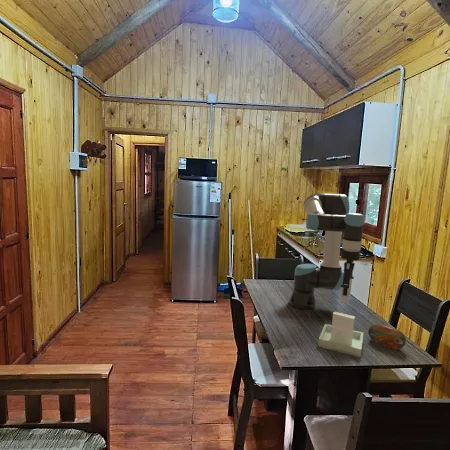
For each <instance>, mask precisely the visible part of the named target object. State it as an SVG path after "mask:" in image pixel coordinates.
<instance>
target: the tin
mask: <svg viewBox="0 0 450 450" xmlns="http://www.w3.org/2000/svg"><path fill="white" fill-rule="evenodd" d="M367 334H368V336H369V338H370V340H371V341H372V342H374V343H375V344H378V345H380V346H384V347H387V348H389V349H392V350H395V351H399V350H401V349H403V348H404V346H405V345H406V344H407V343H406V342H407V340H406V337H405V334H404V333H403V332H402V331H400V330H399V329H395V328H392V327H389V326H387V325H383V324H380V323H375V324H372V325H371V326H370V327H369V328H368V333H367Z"/></svg>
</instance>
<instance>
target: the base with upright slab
mask: <svg viewBox="0 0 450 450" xmlns="http://www.w3.org/2000/svg"><path fill="white" fill-rule="evenodd" d="M355 320H356V316H354V315H350V314H346V313H342V312H338V311H334V312H332V320H331V321H332V322H331V325H332V329H331V341H334V342H338V343H342V344H346V345H351V344H352V338H353V330H354V328H355Z"/></svg>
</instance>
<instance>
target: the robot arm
mask: <svg viewBox="0 0 450 450" xmlns="http://www.w3.org/2000/svg"><path fill="white" fill-rule="evenodd" d="M303 209H304V211H305V212H306V213H307V215H306V217H305V218H306V221H305V227H306V229H307V230H310V231H311V230H312V231H320V232H321V231H324V232H325V233H324V234H325V235H324V247H323V260H322V262H321V264H320V265H319V267H318V266H317V265H316V264H314V263H300V264H298V265H297V266H296V267H295V269H294V277H293V278H294V280H293V288H292V289H293V290H292V293H291V294H290V297H289V301H288V303H289V305H291V306H292V307H295V308H297V309H301V310H312V309H315V308H316V307H317V299H316V295H315V289H320V290H321V289H322V290H329V291H339V290H341V296H340V303H343V304H348V303H349V297H350V296H349V295H350V294H351V291H352V283H353V282H352V281H353V280H354V278H355V277H354V276H353V274H354V273H353V272H354V267H355V264H356V263H355V262H354V261H360V258H361V249H362V242H363V240H362V239H363V231H364V224H365V216H364V214H362V213H355V212H350V200H349V198H348V196H347V195H346V194H341V193H327V192H326V193H324V192H323V193H322V192H318V193H317V192H316V193H313V194H311V195H309V196H307V197H306V198H305V200H304V201H303ZM341 244H342V245H341ZM341 248H342V249H341ZM341 258H342V259H343V260H346V261H344V263H343V267H344V268H343V269H342V265H340V259H341Z"/></svg>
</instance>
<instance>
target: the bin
mask: <svg viewBox="0 0 450 450" xmlns="http://www.w3.org/2000/svg"><path fill="white" fill-rule="evenodd" d="M331 329H332V324H327V323H324V326H322V330H321V332H320V334H319V337H318V340H317V341H318V343H317V347H318V348H319V347H320V348H322V349H327V350H330V351H334V352H338V353H341V354H346V355H350V356H353V357H357V358H361V356H362V349H363V341H364V339H363V338H364V332H363V331H358V330H354V329H353V338H352V344H351V345H346V344H342V343H338V342H334V341H331Z"/></svg>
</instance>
